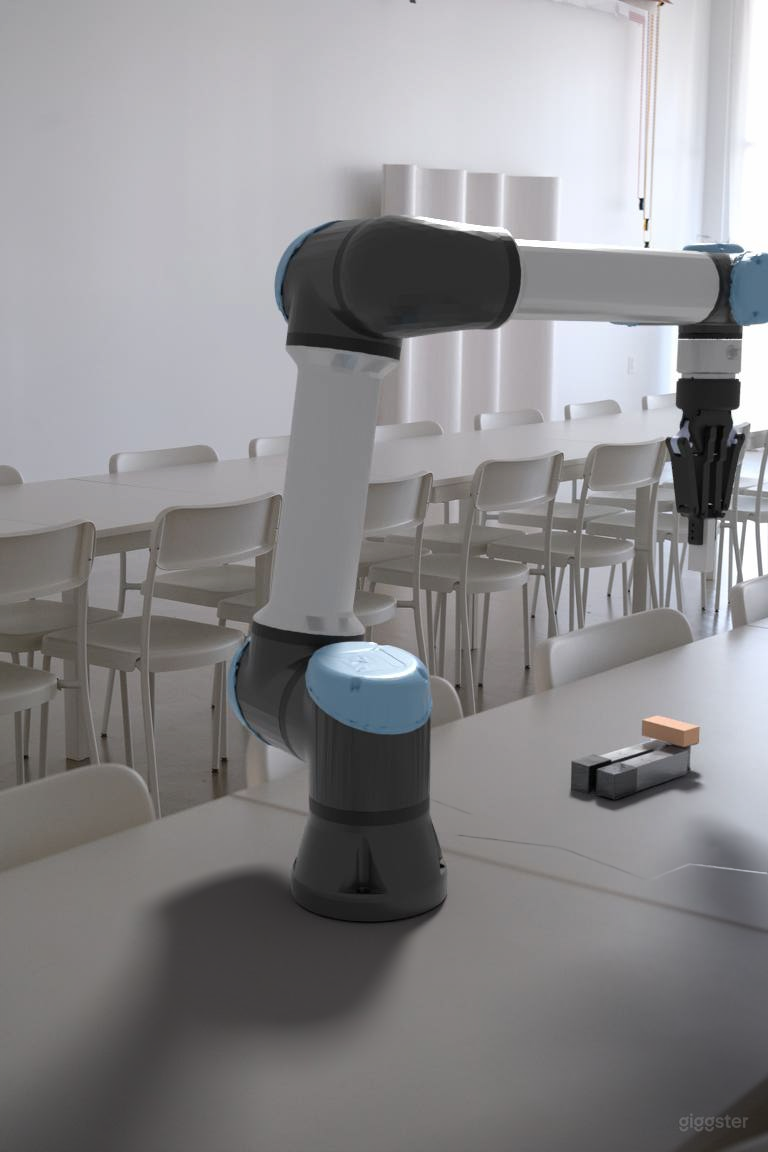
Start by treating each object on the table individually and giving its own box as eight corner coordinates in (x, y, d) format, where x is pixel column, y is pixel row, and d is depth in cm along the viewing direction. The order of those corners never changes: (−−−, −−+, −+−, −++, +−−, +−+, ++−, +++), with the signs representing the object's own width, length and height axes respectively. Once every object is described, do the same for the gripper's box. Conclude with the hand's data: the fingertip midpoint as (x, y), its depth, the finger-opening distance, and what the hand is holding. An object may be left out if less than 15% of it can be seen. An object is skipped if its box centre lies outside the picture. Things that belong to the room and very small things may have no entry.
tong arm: (678, 757, 175) (679, 732, 174) (709, 766, 171) (710, 741, 171) (582, 789, 162) (583, 763, 162) (614, 799, 159) (615, 772, 158)
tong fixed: (662, 758, 175) (663, 732, 175) (693, 767, 172) (694, 741, 171) (569, 787, 164) (569, 760, 164) (600, 797, 161) (601, 770, 160)
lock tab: (657, 730, 174) (657, 715, 173) (699, 742, 169) (699, 726, 168) (641, 735, 172) (642, 719, 171) (683, 746, 167) (684, 730, 167)
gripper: (701, 378, 159) (692, 580, 163) (767, 376, 167) (757, 568, 171) (649, 376, 164) (642, 572, 168) (715, 374, 173) (707, 561, 177)
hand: (700, 570), depth 170 cm, fingers closed
